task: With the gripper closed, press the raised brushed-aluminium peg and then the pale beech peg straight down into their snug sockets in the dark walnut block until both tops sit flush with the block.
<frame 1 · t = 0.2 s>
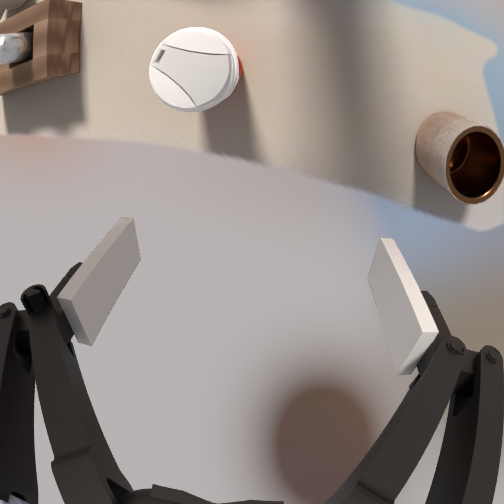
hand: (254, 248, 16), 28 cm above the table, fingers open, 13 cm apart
coffee cup: (220, 70, 34), on the table
planter: (443, 145, 36), on the table
walnut socket block: (35, 51, 31), on the table
aluminium peg: (16, 47, 23), point 9 cm above the table, slide at 5.0 cm
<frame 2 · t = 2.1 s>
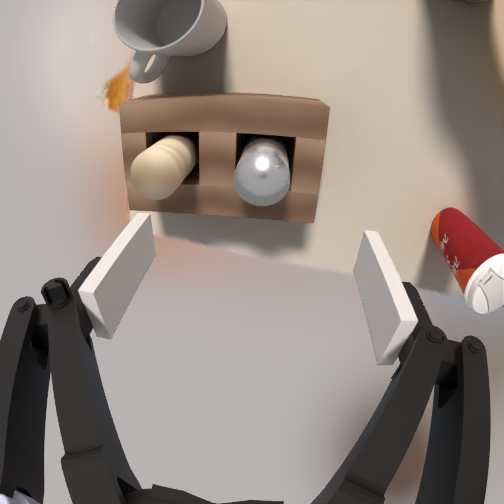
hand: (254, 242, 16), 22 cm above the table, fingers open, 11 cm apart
coffee cup: (447, 225, 38), on the table
beech peg: (169, 161, 27), point 9 cm above the table, slide at 5.0 cm
mug: (184, 36, 28), on the table
walnut socket block: (229, 141, 35), on the table
aluminium peg: (263, 165, 27), point 9 cm above the table, slide at 5.0 cm
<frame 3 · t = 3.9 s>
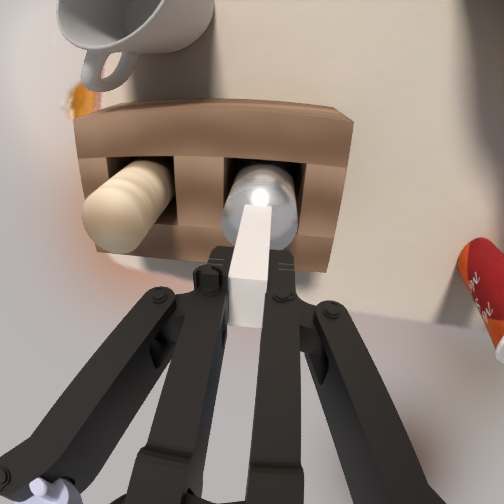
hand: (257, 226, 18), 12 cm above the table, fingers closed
coffee cup: (475, 256, 31), on the table
beech peg: (136, 196, 21), point 9 cm above the table, slide at 5.0 cm
mug: (160, 28, 21), on the table
walnut socket block: (219, 160, 28), on the table
aluminium peg: (262, 196, 21), point 8 cm above the table, slide at 3.8 cm, touching gripper
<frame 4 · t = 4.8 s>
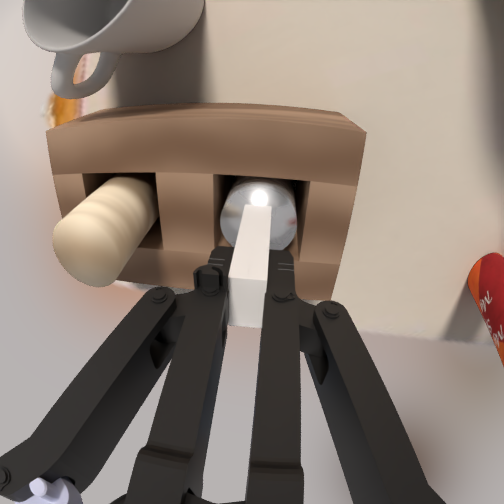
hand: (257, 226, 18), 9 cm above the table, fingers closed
coffee cup: (485, 272, 28), on the table
beech peg: (115, 218, 18), point 9 cm above the table, slide at 5.0 cm
mug: (145, 25, 18), on the table
walnut socket block: (211, 172, 25), on the table
aluminium peg: (262, 197, 21), point 5 cm above the table, slide at 0.5 cm, touching gripper
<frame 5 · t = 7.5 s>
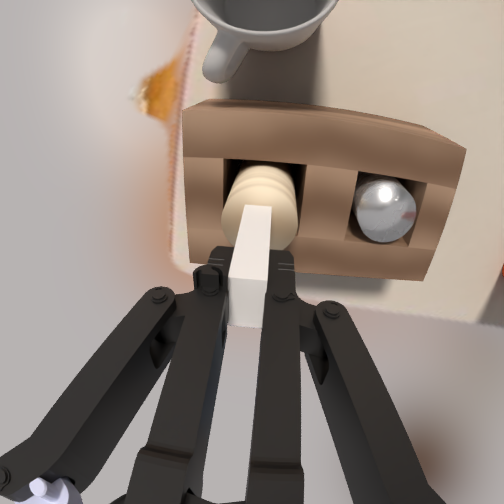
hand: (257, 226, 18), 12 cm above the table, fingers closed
beech peg: (262, 196, 21), point 8 cm above the table, slide at 3.6 cm, touching gripper
mug: (260, 24, 20), on the table
walnut socket block: (315, 168, 27), on the table
aluminium peg: (374, 193, 23), point 5 cm above the table, slide at 0.5 cm
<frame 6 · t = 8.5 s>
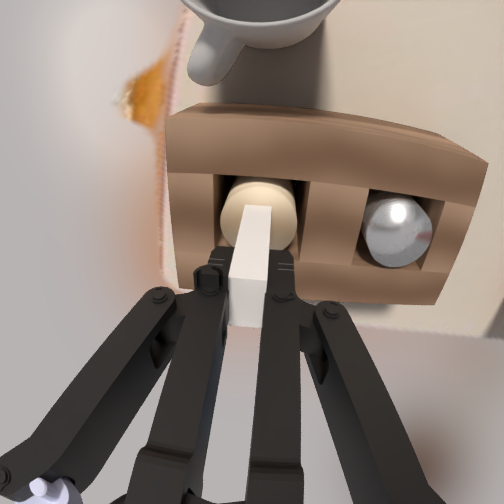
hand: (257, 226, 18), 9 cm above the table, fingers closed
beech peg: (262, 197, 21), point 5 cm above the table, slide at 0.5 cm, touching gripper
mug: (257, 18, 18), on the table
walnut socket block: (318, 180, 25), on the table
aluminium peg: (384, 209, 21), point 5 cm above the table, slide at 0.5 cm
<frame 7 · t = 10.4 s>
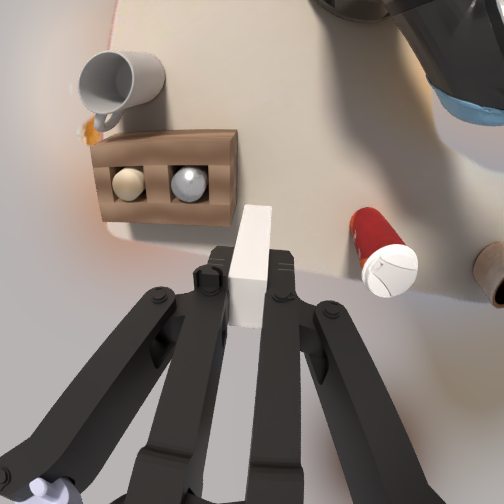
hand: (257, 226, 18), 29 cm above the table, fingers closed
coffee cup: (366, 222, 49), on the table
beech peg: (137, 176, 42), point 5 cm above the table, slide at 0.5 cm
mug: (136, 88, 39), on the table
planter: (489, 261, 51), on the table
walnut socket block: (173, 166, 46), on the table
aluminium peg: (194, 176, 42), point 5 cm above the table, slide at 0.5 cm
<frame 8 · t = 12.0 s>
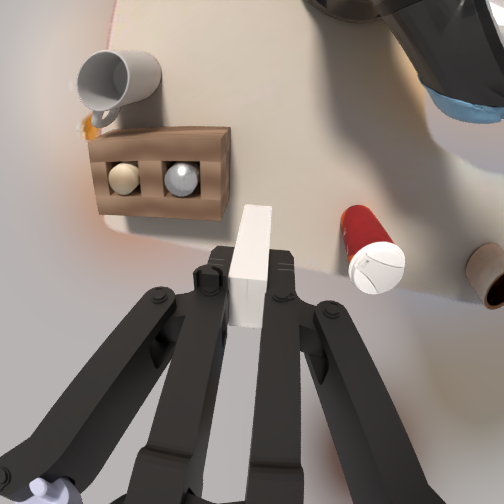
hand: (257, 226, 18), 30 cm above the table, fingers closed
coffee cup: (357, 220, 50), on the table
beech peg: (132, 171, 43), point 5 cm above the table, slide at 0.5 cm
mug: (133, 85, 40), on the table
planter: (483, 261, 52), on the table
walnut socket block: (168, 162, 47), on the table
aluminium peg: (187, 171, 43), point 5 cm above the table, slide at 0.5 cm
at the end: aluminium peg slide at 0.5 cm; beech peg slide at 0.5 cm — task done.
